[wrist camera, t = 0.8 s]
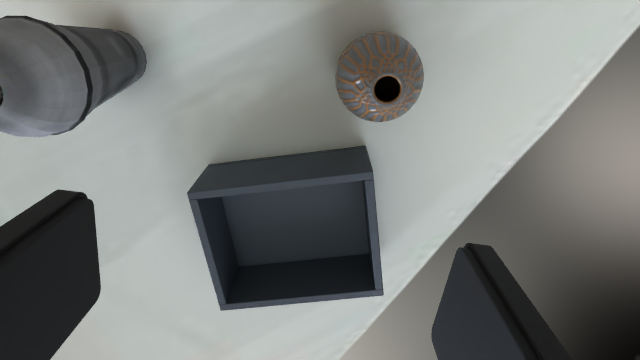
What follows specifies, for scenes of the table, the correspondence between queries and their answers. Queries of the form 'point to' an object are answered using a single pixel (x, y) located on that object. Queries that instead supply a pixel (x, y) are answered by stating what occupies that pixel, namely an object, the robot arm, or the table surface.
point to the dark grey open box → (289, 228)
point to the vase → (379, 76)
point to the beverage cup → (60, 73)
